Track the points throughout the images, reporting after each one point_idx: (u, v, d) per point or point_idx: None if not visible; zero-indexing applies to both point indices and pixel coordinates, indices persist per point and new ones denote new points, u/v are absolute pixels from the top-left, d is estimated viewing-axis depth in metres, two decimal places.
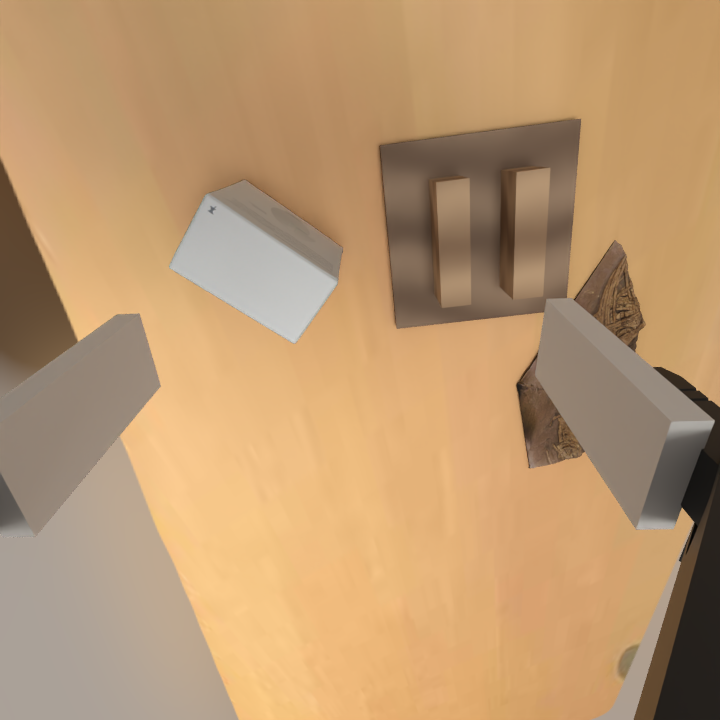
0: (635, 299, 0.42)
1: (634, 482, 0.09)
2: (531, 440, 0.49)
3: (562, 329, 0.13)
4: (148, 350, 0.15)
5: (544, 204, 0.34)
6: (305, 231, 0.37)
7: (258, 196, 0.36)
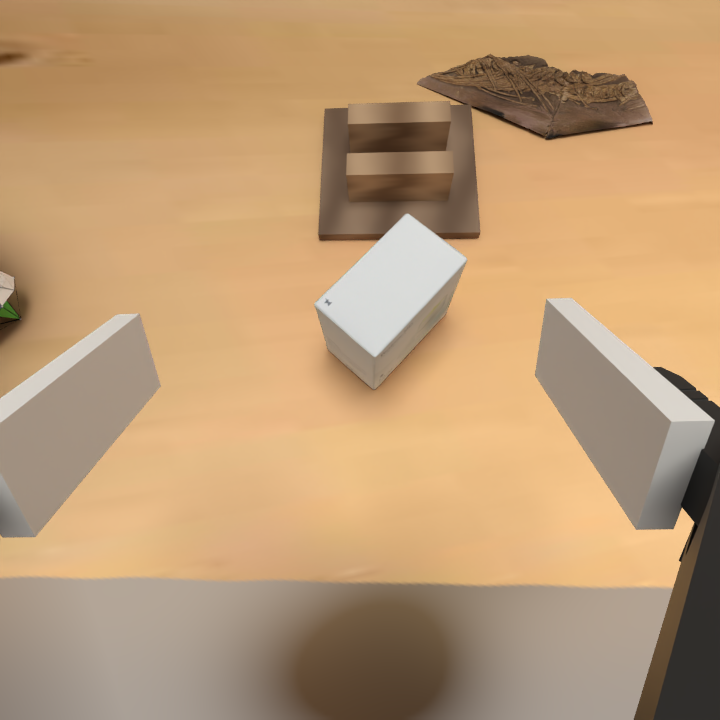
0: (466, 63, 0.51)
1: (634, 482, 0.09)
2: (615, 122, 0.48)
3: (562, 329, 0.13)
4: (148, 350, 0.15)
5: (374, 105, 0.44)
6: None
7: None
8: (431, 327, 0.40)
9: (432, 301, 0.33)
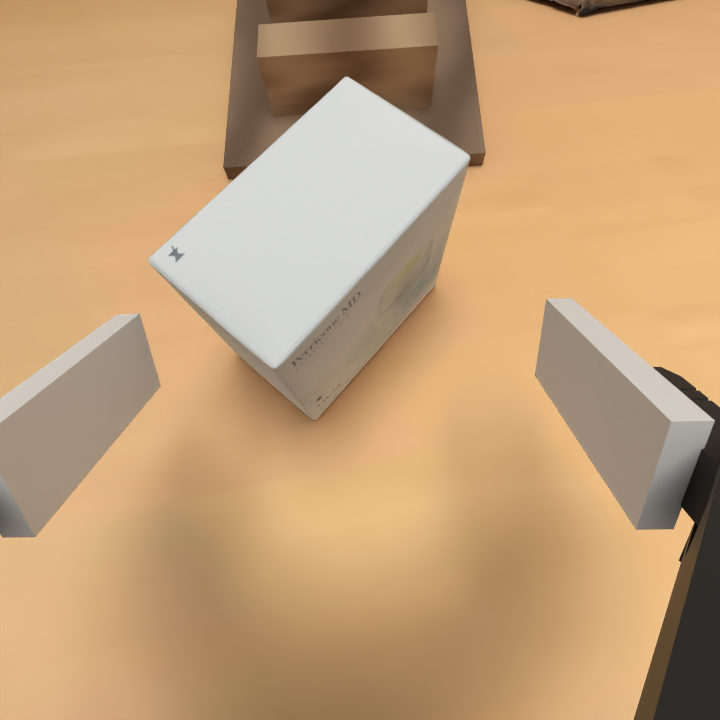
0: None
1: (634, 482, 0.09)
2: None
3: (562, 329, 0.13)
4: (148, 350, 0.15)
5: None
6: None
7: None
8: (409, 308, 0.23)
9: (401, 246, 0.16)
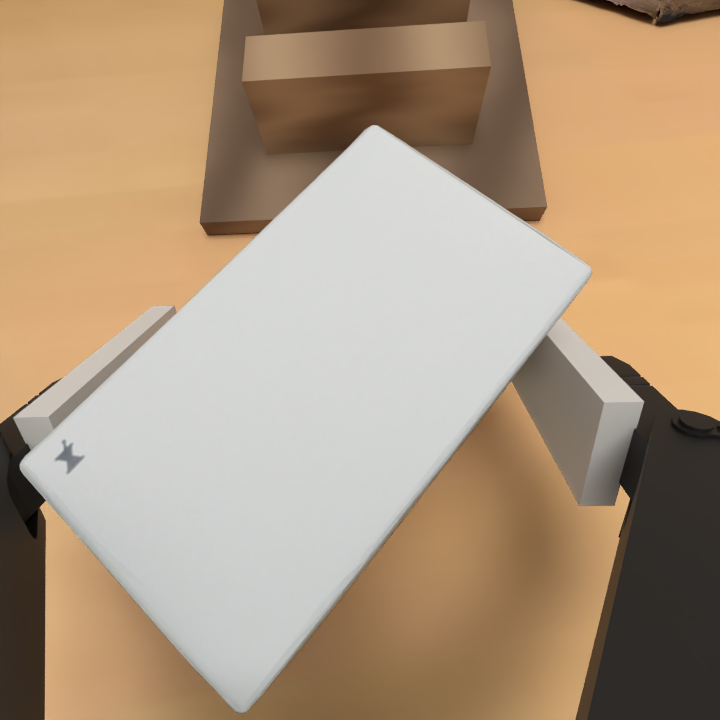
0: None
1: (578, 461, 0.10)
2: None
3: None
4: None
5: None
6: None
7: None
8: None
9: None
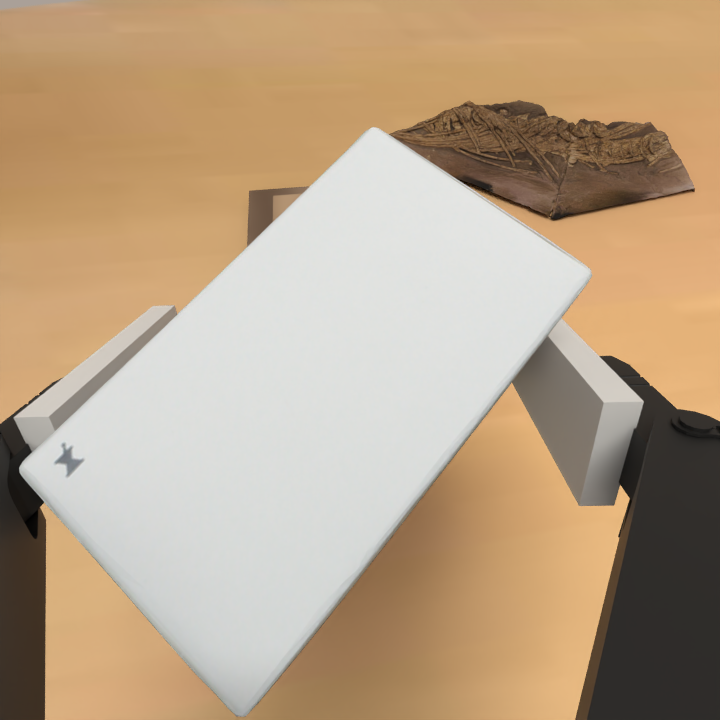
0: (438, 115, 0.38)
1: (577, 461, 0.10)
2: (644, 192, 0.35)
3: None
4: None
5: None
6: None
7: None
8: None
9: (473, 431, 0.09)
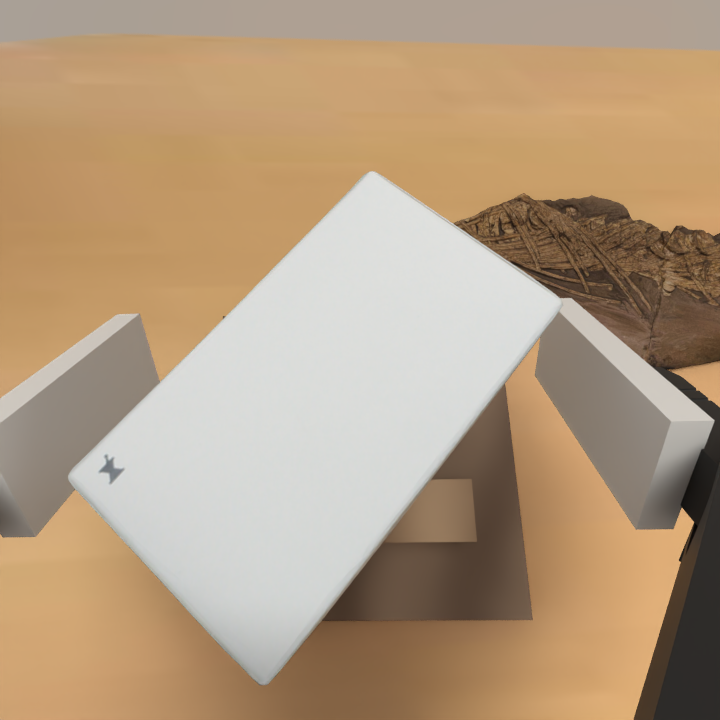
0: (482, 213, 0.28)
1: (634, 482, 0.09)
2: None
3: (562, 329, 0.13)
4: (148, 350, 0.15)
5: None
6: None
7: None
8: None
9: (459, 441, 0.10)
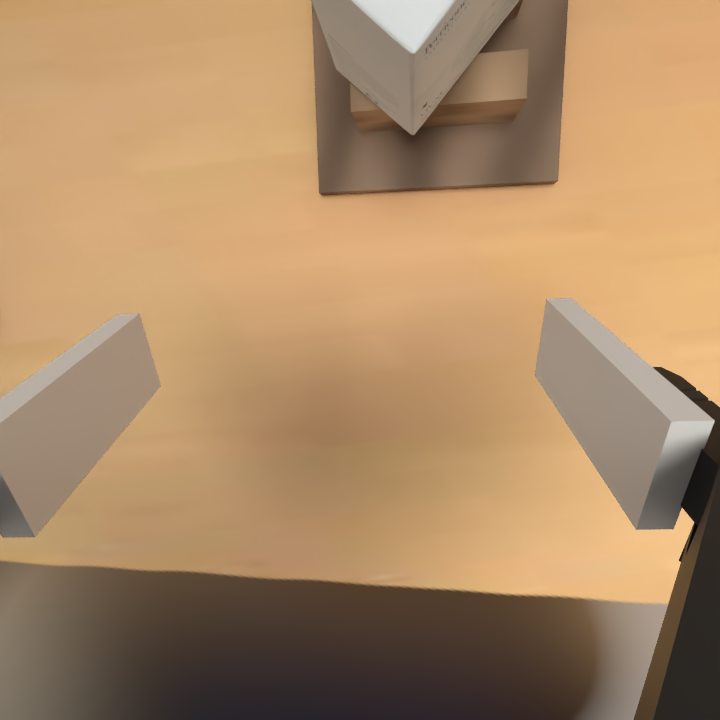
0: None
1: (634, 482, 0.09)
2: None
3: (562, 329, 0.13)
4: (148, 350, 0.15)
5: None
6: None
7: None
8: (513, 2, 0.23)
9: None
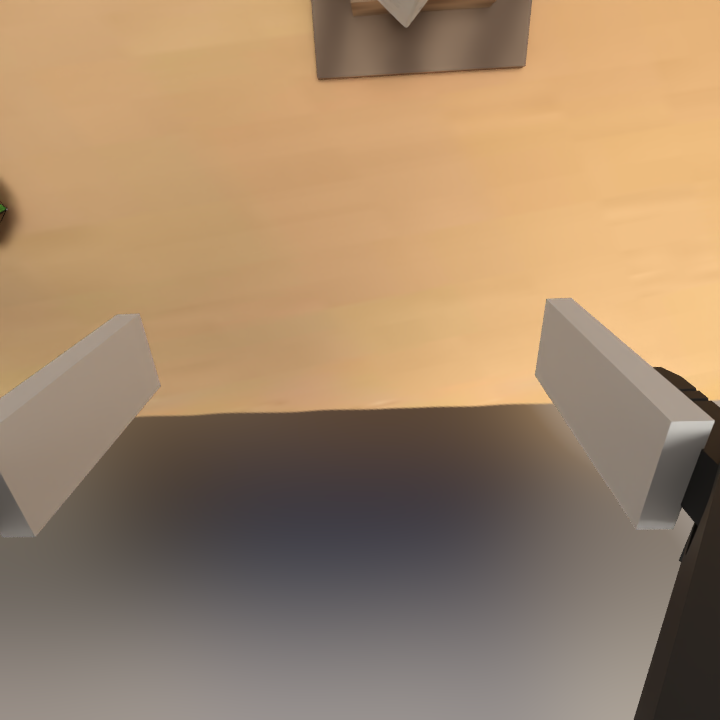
0: None
1: (634, 482, 0.09)
2: None
3: (562, 329, 0.13)
4: (148, 350, 0.15)
5: None
6: None
7: None
8: None
9: None
